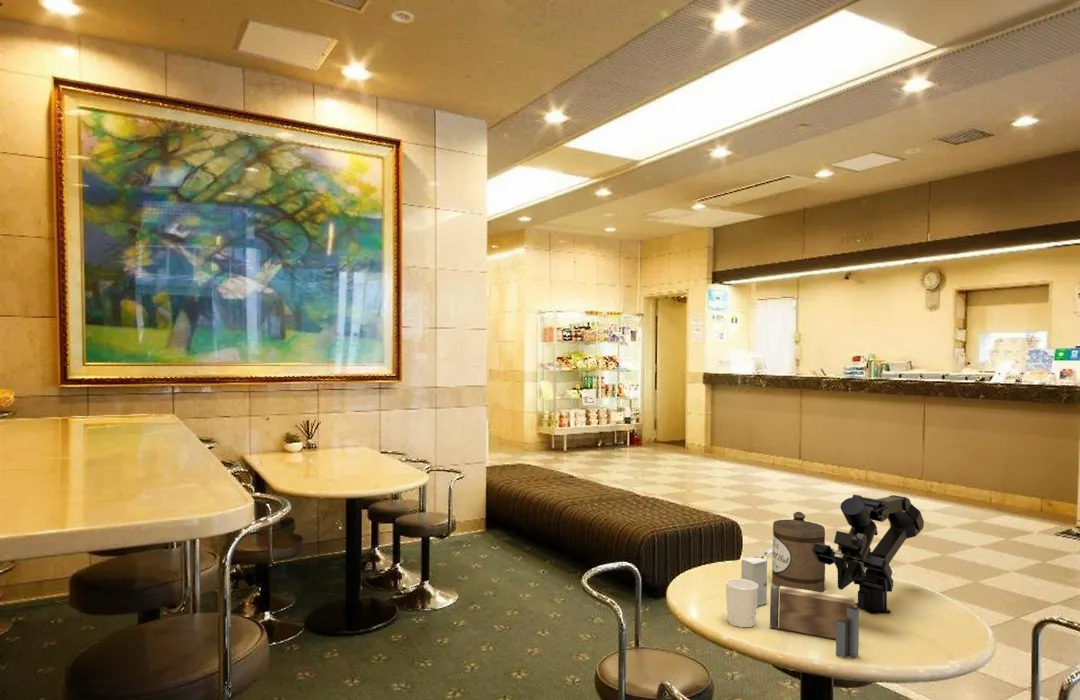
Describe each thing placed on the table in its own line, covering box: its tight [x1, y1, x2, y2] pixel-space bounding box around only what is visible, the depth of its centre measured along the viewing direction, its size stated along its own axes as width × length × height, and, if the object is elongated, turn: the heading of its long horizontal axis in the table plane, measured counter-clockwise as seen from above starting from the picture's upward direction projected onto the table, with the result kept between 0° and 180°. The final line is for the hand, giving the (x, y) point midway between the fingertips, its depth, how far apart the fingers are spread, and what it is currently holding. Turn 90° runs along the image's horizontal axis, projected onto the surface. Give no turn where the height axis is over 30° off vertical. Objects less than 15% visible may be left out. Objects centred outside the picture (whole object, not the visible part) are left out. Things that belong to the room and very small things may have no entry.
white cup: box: [725, 578, 758, 629], centre depth 169 cm, size 8×8×10 cm
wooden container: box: [771, 511, 826, 593], centre depth 198 cm, size 15×15×22 cm
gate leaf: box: [769, 584, 856, 639], centre depth 163 cm, size 19×2×10 cm, turn 66°
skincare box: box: [740, 556, 768, 607], centre depth 183 cm, size 6×4×12 cm
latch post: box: [835, 606, 860, 659], centre depth 151 cm, size 4×4×11 cm
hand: (839, 588), depth 168 cm, fingers closed
